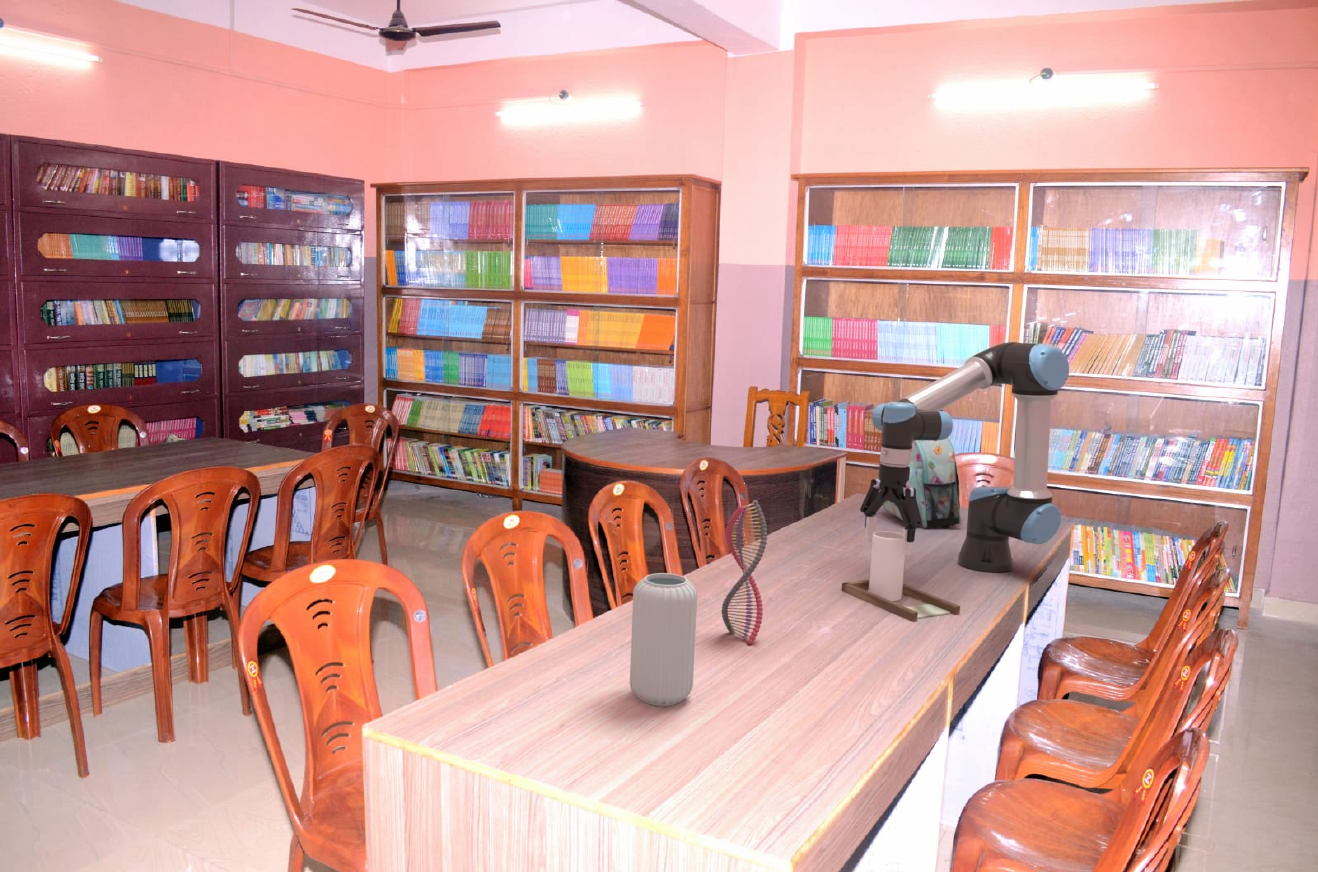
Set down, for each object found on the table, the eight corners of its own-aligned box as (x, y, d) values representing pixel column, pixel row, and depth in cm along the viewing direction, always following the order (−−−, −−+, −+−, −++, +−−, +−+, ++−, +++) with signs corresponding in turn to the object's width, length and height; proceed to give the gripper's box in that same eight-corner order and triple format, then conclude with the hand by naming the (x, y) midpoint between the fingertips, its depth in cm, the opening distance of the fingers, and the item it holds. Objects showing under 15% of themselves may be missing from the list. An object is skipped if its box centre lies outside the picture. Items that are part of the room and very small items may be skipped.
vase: (700, 707, 172) (706, 586, 169) (638, 712, 169) (643, 589, 166) (681, 682, 183) (686, 569, 180) (622, 687, 180) (626, 571, 177)
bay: (886, 584, 255) (886, 577, 255) (959, 613, 233) (960, 605, 232) (841, 590, 248) (842, 582, 248) (912, 621, 226) (913, 613, 225)
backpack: (868, 512, 348) (874, 423, 343) (933, 513, 350) (941, 425, 346) (895, 530, 320) (903, 434, 315) (966, 531, 323) (975, 436, 318)
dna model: (734, 648, 203) (741, 508, 199) (712, 634, 211) (719, 499, 207) (769, 642, 207) (777, 505, 203) (747, 629, 215) (754, 497, 211)
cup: (902, 602, 240) (907, 539, 238) (868, 599, 242) (873, 536, 239) (900, 593, 248) (905, 532, 246) (868, 590, 250) (872, 529, 247)
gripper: (850, 456, 249) (844, 537, 252) (919, 473, 228) (911, 561, 230) (873, 456, 253) (866, 535, 256) (942, 472, 231) (934, 559, 234)
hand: (887, 547), depth 243 cm, fingers open, 13 cm apart
